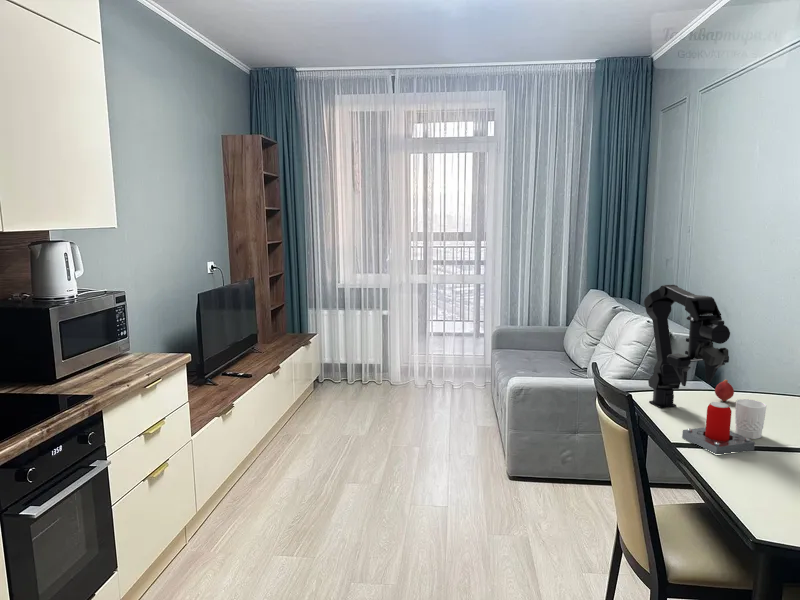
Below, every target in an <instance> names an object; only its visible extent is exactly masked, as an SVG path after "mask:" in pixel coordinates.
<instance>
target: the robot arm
mask: <svg viewBox="0 0 800 600" xmlns="http://www.w3.org/2000/svg"><path fill="white" fill-rule="evenodd" d="M675 303H677V304H679V305H681V306H683V307H684V311H686V312H687V313H688V314H689V316H687V317H686V320H687V321H689V333H688V337H687V338H685V342H687V343H688V349H687V350H685V351H684V354H685V355H684V354H681V353H679V352H678V353H677V352H676V353H673V351H672V343H671V335H670V334H671V333H670V326H669V325H670V324H669V316H670V314H671V313H672V306H673V305H674V304H675ZM643 304H644V307H645V311H646V314H647V316H649V318H650V319H651V321H652V327H653V334H654V335H653V336H654V343H655V351H656V352H655V353H656V359H657V360H656V363H655V365H654V368H653V373H652V376H650V378H649V379H648V381H647V382H648V387H649V388H651V389H653V393H652V394H653V395H652V397H653V398H652V400H649V401H648V403H650V404H651V405H653V406H656V407H658V408H660V409H663V408H664V409H665V408H673V407H675V408H676V407H677V404H675V403H674V397H675V396H674V390H679V389H680V385H681V386H682V387H686V386H687V382H688V380H687V379H688V371H689V370H690V369H691V366H690V364H691V362H692V363H693V362H694V363H695V362H703V363H704V372H705V381H706V383H707V384H708V385H709V384H711V383H712V380H713V378H715V377H714V376H715V374H716V373H717V371H718V370H719V368H721V367H722V366H725V365H726V364H727V363H729V362H730V355H729V349H728V348H727V347H720V348H718V347H717V348H716V347H714V344H719V345H722V344H725V343H726V342H728V340H729V339H730V336H731V332H730V329H729V327H728V326H726V325H725V320H723V318H722V314H721V313H722V312H721V311H720V310H719V307H718V305H717V302H716V301H715V298H714V297H712V296H709V295H702V294H701V295H698V294H695V293H692V292H691V291H687V290H686V289H683V288H681V287H679V286H678V285H676V284H663V285H660V286H659V288H657V289H655V290H653V291H651V292H650V293H649V294H647V296H646V297H645V298H644V300H643Z"/></svg>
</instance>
